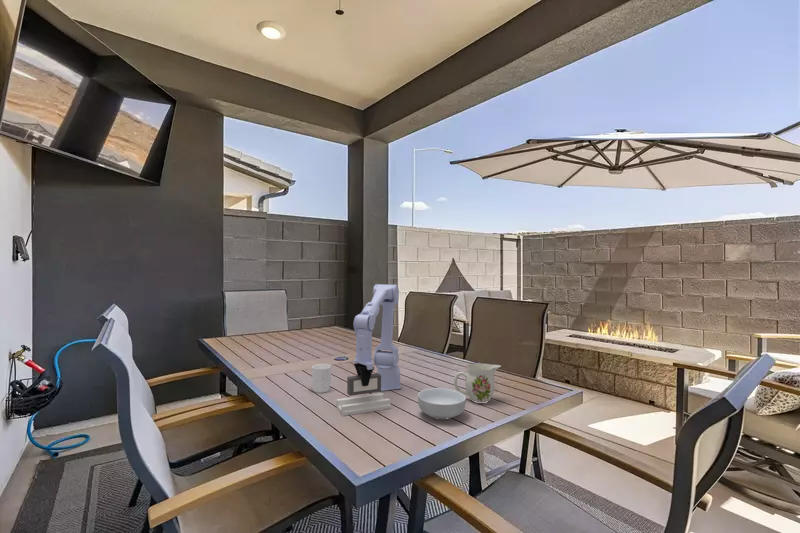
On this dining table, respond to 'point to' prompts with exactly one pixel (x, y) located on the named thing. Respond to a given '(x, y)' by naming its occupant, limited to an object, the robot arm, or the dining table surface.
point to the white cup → (321, 377)
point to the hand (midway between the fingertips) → (363, 384)
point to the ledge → (362, 404)
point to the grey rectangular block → (356, 386)
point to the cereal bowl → (441, 402)
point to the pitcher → (478, 381)
